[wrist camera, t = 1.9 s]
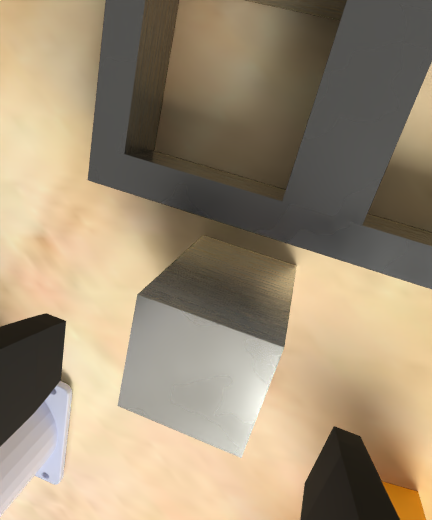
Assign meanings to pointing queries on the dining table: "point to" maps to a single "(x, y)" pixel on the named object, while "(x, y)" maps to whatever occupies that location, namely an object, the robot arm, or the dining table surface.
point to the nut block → (208, 342)
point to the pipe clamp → (405, 502)
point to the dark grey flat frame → (313, 143)
